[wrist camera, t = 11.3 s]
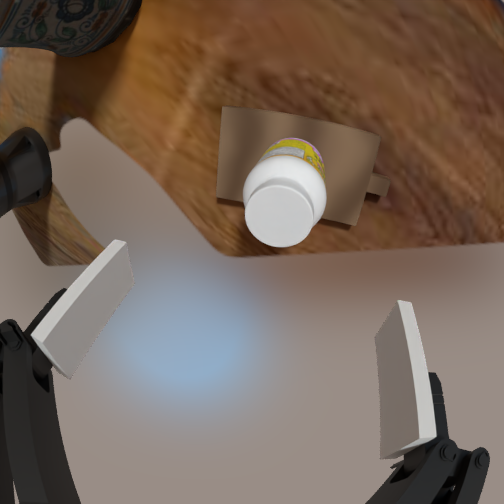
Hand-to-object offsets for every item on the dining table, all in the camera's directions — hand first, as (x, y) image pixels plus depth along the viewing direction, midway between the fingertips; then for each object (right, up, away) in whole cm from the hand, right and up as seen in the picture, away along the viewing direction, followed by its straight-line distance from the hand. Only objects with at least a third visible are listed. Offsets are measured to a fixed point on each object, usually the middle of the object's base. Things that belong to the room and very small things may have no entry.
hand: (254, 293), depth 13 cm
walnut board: (+6, +12, +17) cm, 22 cm away
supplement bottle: (+4, +11, +16) cm, 20 cm away
